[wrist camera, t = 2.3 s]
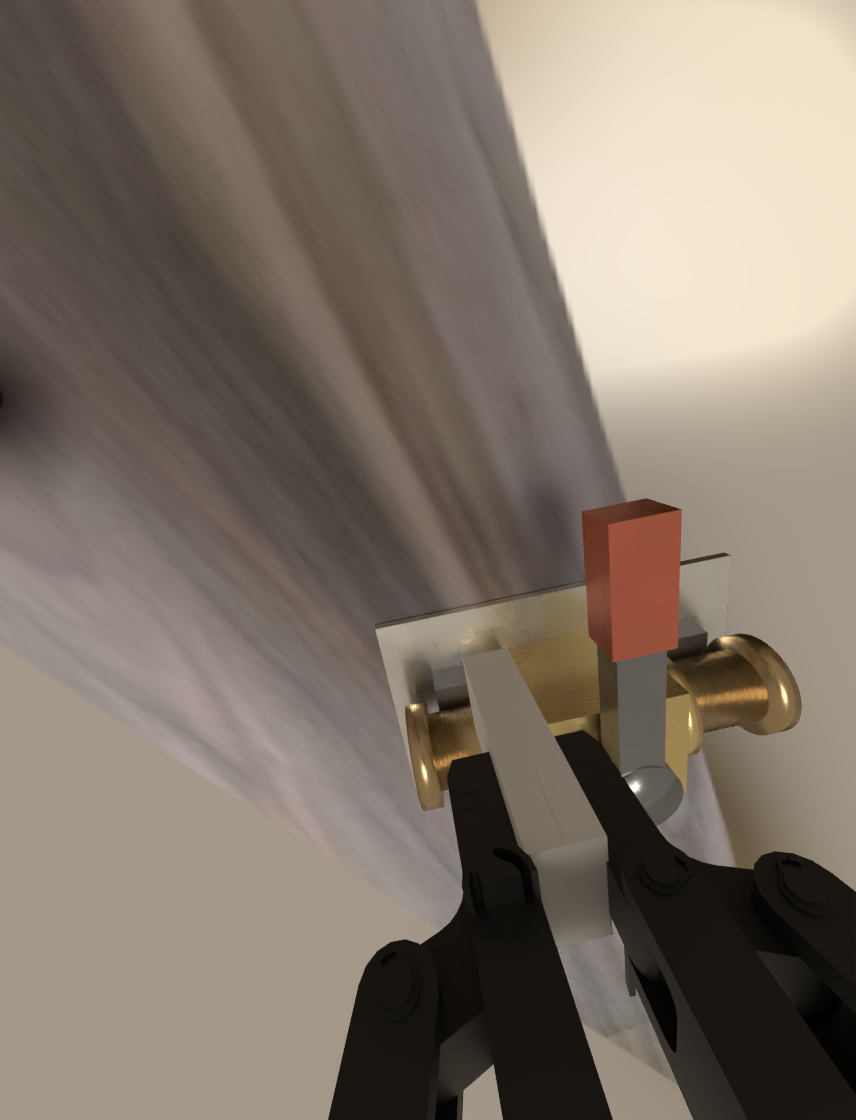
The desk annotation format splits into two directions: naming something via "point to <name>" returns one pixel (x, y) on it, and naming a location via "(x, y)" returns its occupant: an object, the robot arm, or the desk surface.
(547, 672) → the valve body
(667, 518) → the lever
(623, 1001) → the desk surface
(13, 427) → the desk surface
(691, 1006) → the robot arm
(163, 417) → the desk surface
